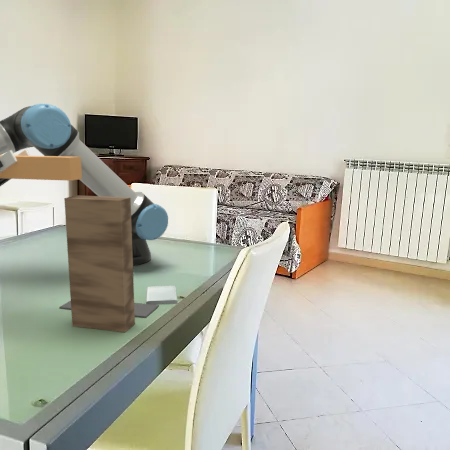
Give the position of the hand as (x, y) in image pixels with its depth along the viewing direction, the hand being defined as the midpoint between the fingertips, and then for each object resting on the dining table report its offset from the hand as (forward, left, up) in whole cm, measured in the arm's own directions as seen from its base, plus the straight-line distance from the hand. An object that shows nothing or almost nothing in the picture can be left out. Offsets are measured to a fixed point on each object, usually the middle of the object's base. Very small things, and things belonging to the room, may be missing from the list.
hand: (21, 155), depth 107 cm
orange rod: (0, +3, -5) cm, 6 cm away
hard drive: (-22, +24, -40) cm, 52 cm away
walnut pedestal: (0, +19, -39) cm, 43 cm away
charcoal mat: (-10, +15, -39) cm, 43 cm away
